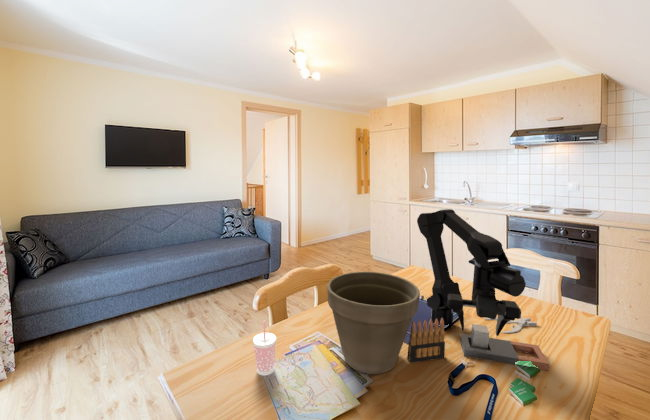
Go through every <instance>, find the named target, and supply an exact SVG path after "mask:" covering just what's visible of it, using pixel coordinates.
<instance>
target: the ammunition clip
mask: <svg viewBox="0 0 650 420" xmlns="http://www.w3.org/2000/svg"><path fill="white" fill-rule="evenodd" d="M415 322H416V321H415V320H413V321H411V325H410V326H411V327H410V334H409V342H408V348H407V356H406V357H407V360H408V362H409V363H410V364H412V363H421V362H426V361H434V360H435V361H436V360H442V359H445V358H446V357H445V355H446V354H445V353H446V352H445V351H446V350H445V349H446V348H445V347H446V342H445V328H444V320H443V318H441V321H440V327H439V324H438V319H437V318H436V320H435V323H434V326H433V322H432V319H431V318H430V320H429V322H428V321H427V319H424V321H423V325H422V322H421V319H420V320H418V321H417V325H416V323H415Z"/></svg>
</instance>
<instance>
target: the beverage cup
mask: <svg viewBox="0 0 650 420" xmlns="http://www.w3.org/2000/svg"><path fill="white" fill-rule="evenodd" d="M262 324H263V327H262V328H263V332H261V333H258V334H256V335H254V337H253V338H252V345H253V346H254V356H255V366H256V373H257V375H260V376H269V375H271V374H272V373H273V372H274V370H275V359H276V358H275V356H276V342H277V336H276V335H275V334H274V333H272V332H266V320H263V323H262Z"/></svg>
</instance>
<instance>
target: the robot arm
mask: <svg viewBox="0 0 650 420" xmlns="http://www.w3.org/2000/svg"><path fill="white" fill-rule="evenodd" d="M416 221H417V227H418V228H419V229H418V230H419V232H420V234H421V235H423V237H424V238H425V239H426V242H427V243H426V245H427V249H428V254H429V257H430V262H431V268H432V272H433V276H434V282H433V285H432V289H431V290H432V291H431V292H432V295H430V296H429V297H428V298H427V299H426V304H427V307H429V308H430V309H431V311H430V312H431V315H430V319H432V322H433V323H435V320H436V318H437V319H438V324H439V325H440V321H441V318H443V320H444V325H448V324H449V326H448V327H447V328H446V329H447V330H448V329H449V330H451V329H452V326H453V323H454V313H456V315H457V317H458V319H459V323H460V326H461V331H464V330H465V320H464V318H465V316H464V315H465V313H464V312H465V311H464V307H468V308H475V312H476V316H478V317H479V318H484V319H485V318H491V319H496V318H497V320H496V324H495V325H496V326H495V335H496V337H498V336H499V335H500V334H501V333H502V332H501V331H502V330H503V329H504V327H505V326H506V325H507V324H508V323H507V322H508V321H510V320H513V321H516V319H517V320H518V319H521V318H522V310H521V307H520V306H519V305H518V304H517V302H516V301H514V300H505V299H501V300H499V299H497V298H496V290H499V291H501V292H503V293H505V294H507V295H510V296H512V297H516V298H517V297H519V296H521V295H522V293H523V292H524V291H525V288H526V285H527V283H526V282H525V278H524V276H523V275H521V274H522V271H521V270H519V269H518V268H511V267H510V266H511V263H510V260H509V259H508V257H507V254H506V253H505V250H504V248H503V244H502V243H501V241H499V240H498V239H496V238H494V237H492V236H491V235H488V234H485V233H481V232H480V231H478V230H477V229H475V228H474V227H473V226H472V225H471V224H470V223H468V222H467V221H466V220H464V219H463V218H462V217H461V216H460V215H458V214H457V213H456V212H455V210H453V209H451V208H449V209H448V208H446V209H445V208H444V209H440V210H438V211H435V212H422V213H420V214H419V215H418V216H417V219H416ZM444 225H445V226H446V227H447V228H448V229H450V231H452V232H453V234H455V235H456V236H457V237H458V238H460V239H461V240H462V241H463V242H464V243H465V244H466V249H467V250H468V252H469V253H470V254H471V256H472V257H473V258H471V259H469V260H468V263H469V264H471V265H473V266H474V267H473V268H474V269H473V280H472V290H471V291H472V292H471V294H472V295H471V299H466V298H465V299H464V298H463V295H462V293H461V290H460V286H459V283H458V282H454V281H453V279H452V278H451V275H450V270H449V267H448V262H447V257H446V254H445V253H446V252H445V249H444V244H443V240H442V233H443V231H444ZM491 260H492V261H491Z"/></svg>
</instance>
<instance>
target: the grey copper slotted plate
mask: <svg viewBox="0 0 650 420" xmlns="http://www.w3.org/2000/svg"><path fill="white" fill-rule="evenodd" d="M470 341H471V334H466V333H460V344H461V348H462V353H463V356H464V357H467V358H472V359H473V358H474V359H479V360H484V361H492V362H496V363H502V364H507V365H508V364H510V365H514V366H516V365H515V362H517V361H531V362H532V364H533V365H535V366H536V367H538V368H539V369H538V370H543V371H550V363H549V361H548V359H547V358H546V356H545V354H544V353H543V351H542V350H541V348H540V346H539V345H537V344H531V343H525V342H519V341H512V340H507V339H501V338H500V339H498V338H493V337H489V341H488V350H483V349H477V348H471V347H470ZM517 353H524V354H525V353H526V354H530V355H532V356H533V357H530V356H525V355H520V354H517Z"/></svg>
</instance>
